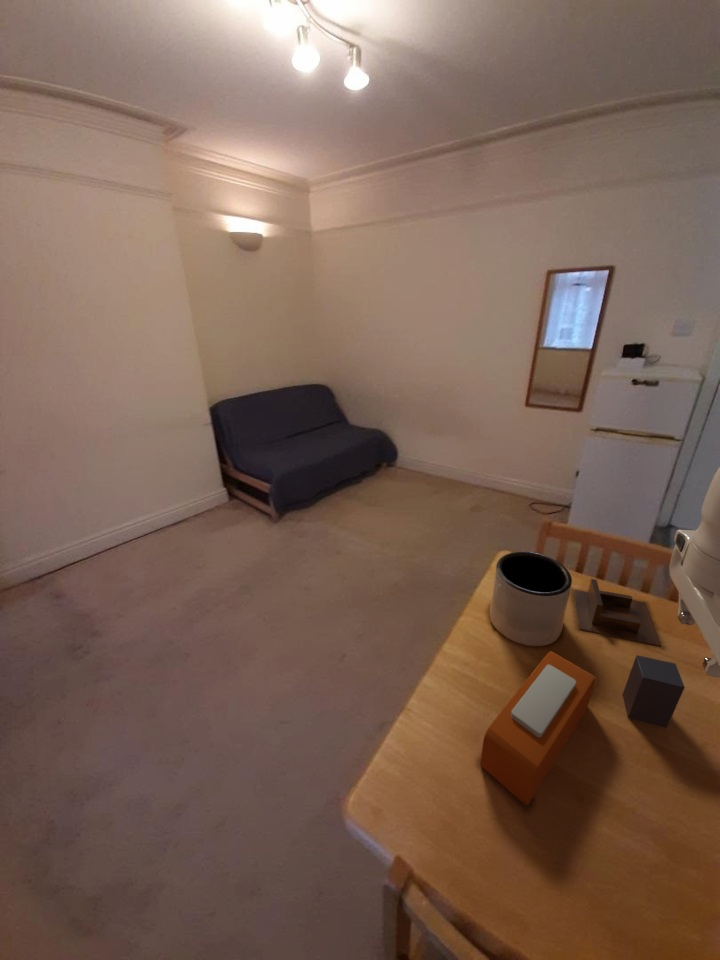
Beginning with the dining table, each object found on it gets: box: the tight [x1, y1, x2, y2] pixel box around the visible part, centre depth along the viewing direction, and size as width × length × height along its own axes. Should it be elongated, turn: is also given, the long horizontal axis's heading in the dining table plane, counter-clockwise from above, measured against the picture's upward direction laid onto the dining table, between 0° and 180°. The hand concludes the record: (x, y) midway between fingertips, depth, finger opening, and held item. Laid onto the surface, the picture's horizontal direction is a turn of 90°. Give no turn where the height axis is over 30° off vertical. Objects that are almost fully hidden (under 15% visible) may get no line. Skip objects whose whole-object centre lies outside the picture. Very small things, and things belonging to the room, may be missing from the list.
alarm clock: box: [480, 651, 597, 806], centre depth 70 cm, size 24×8×11 cm, turn 132°
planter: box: [489, 551, 573, 647], centre depth 94 cm, size 16×16×16 cm
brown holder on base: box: [572, 578, 662, 648], centre depth 95 cm, size 16×14×8 cm
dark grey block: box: [622, 654, 685, 729], centre depth 73 cm, size 6×5×12 cm
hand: (697, 645), depth 58 cm, fingers open, 8 cm apart
